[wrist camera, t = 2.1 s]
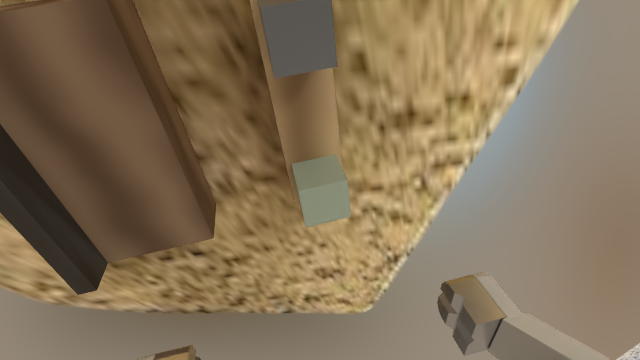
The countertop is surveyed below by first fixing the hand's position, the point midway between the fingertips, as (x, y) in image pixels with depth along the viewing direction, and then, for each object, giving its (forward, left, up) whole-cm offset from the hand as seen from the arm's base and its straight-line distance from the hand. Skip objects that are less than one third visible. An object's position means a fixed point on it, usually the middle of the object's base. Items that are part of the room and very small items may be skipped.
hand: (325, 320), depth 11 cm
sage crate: (-2, +8, -19) cm, 20 cm away
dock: (+14, +1, -23) cm, 26 cm away
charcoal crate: (-2, -5, -19) cm, 19 cm away
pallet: (-2, +1, -23) cm, 23 cm away
